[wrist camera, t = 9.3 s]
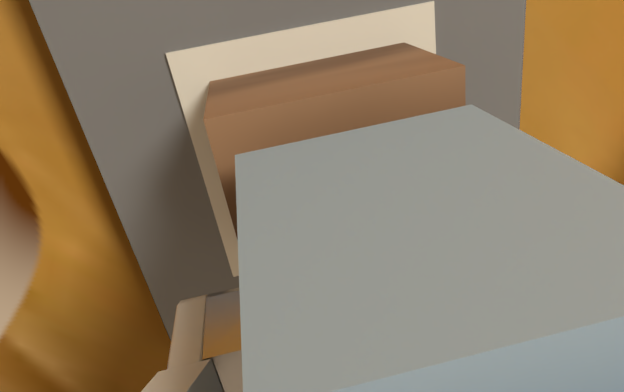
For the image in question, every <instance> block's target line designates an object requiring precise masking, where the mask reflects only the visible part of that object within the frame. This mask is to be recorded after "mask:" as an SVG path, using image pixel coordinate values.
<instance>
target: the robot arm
mask: <svg viewBox="0 0 624 392" xmlns="http://www.w3.org/2000/svg"><path fill="white" fill-rule="evenodd" d="M141 392H243V378H242V350H241V321H240V292H239V288H234V289H230V290H225V291H220V292H216V293H211V294H208V295H202V296H198V297H194V298H189V299H185V300H181V301H180V302H179V304H178V305H177V308H176V314H175V321H174V327H173V333H172V340H171V346H170V352H169V359H168V365H167V370H163V371H159V372H157V374H156V375H155V376H154V377H153V378H152V379H151V380H150V382H149V383H148V384H147V385H146V386H145V387H144V389H143V390H142V391H141Z"/></svg>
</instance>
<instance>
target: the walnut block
mask: <svg viewBox="0 0 624 392" xmlns="http://www.w3.org/2000/svg"><path fill="white" fill-rule="evenodd" d="M461 106H466V96H465V65H463V64H460V63H458V62H455V61H452V60H450V59H447V58H444V57H442V56H439V55H436V54H434V53H431V52H428V51H426V50H423V49H421V48H418V47H415V46H413V45H410V44H407V43H405V42H404V43H399V44H394V45H389V46H384V47H379V48H374V49H369V50H364V51H359V52H354V53H349V54H344V55H339V56H334V57H329V58H324V59H319V60H314V61H309V62H304V63H299V64H294V65H289V66H284V67H279V68H274V69H269V70H264V71H259V72H254V73H249V74H244V75H239V76H234V77H229V78H224V79H219V80H214V81H210V83H209V89H208V95H207V100H206V106H205V112H204V118H203V121H204V124H205V128H206V132H207V135H208V139H209V142H210V146H211V149H212V153H213V156H214V160H215V163H216V167H217V170H218V174H219V177H220V181H221V184H222V188H223V191H224V195H225V198H226V202H227V205H228V209H229V212H230V216H231V219H232V223H233V226H234V230H235V233H236V237H237V240H238V235H237V206H236V177H235V155H237V154H241V153H246V152H251V151H255V150H260V149H265V148H269V147H274V146H279V145H284V144H288V143H293V142H298V141H302V140H307V139H312V138H316V137H321V136H326V135H330V134H335V133H340V132H344V131H349V130H354V129H358V128H363V127H368V126H372V125H377V124H382V123H387V122H391V121H396V120H401V119H405V118H410V117H415V116H419V115H424V114H429V113H433V112H438V111H443V110H447V109H452V108H457V107H461Z"/></svg>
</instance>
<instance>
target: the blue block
mask: <svg viewBox="0 0 624 392" xmlns="http://www.w3.org/2000/svg"><path fill="white" fill-rule="evenodd" d="M235 177H236V206H237V235H238V263H239V292H240V321H241V350H242V378H243V392H624V185H622V184H620V183H618V182H616V181H615V180H613V179H611V178H609V177H607V176H605V175H603V174H601V173H600V172H598V171H596V170H594V169H592V168H590V167H588V166H586V165H585V164H583V163H581V162H579V161H577V160H575V159H573V158H571V157H570V156H568V155H566V154H564V153H562V152H560V151H558V150H556V149H555V148H553V147H551V146H549V145H547V144H545V143H543V142H541V141H540V140H538V139H536V138H534V137H532V136H530V135H528V134H526V133H525V132H523V131H521V130H519V129H517V128H515V127H513V126H511V125H510V124H508V123H506V122H504V121H502V120H500V119H498V118H496V117H495V116H493V115H491V114H489V113H487V112H485V111H483V110H481V109H480V108H478V107H476V106H474V105H472V104H471V105H466V106H461V107H457V108H452V109H447V110H443V111H438V112H433V113H429V114H424V115H419V116H415V117H410V118H405V119H401V120H396V121H391V122H387V123H382V124H377V125H372V126H368V127H363V128H358V129H354V130H349V131H344V132H340V133H335V134H330V135H326V136H321V137H316V138H312V139H307V140H302V141H298V142H293V143H288V144H284V145H279V146H274V147H269V148H265V149H260V150H255V151H251V152H246V153H241V154H237V155H235Z"/></svg>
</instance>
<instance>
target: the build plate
mask: <svg viewBox="0 0 624 392" xmlns="http://www.w3.org/2000/svg"><path fill="white" fill-rule="evenodd" d="M29 2H30V4H31V7H32V9H33V12H34V14H35V16H36V19H37V21H38V24H39V26H40V28H41V31H42V33H43V36H44V38H45V40H46V43H47V45H48V48H49V50H50V52H51V55H52V57H53V60H54V62H55V64H56V67H57V69H58V72H59V74H60V76H61V79H62V81H63V84H64V86H65V88H66V91H67V93H68V95H69V98H70V100H71V103H72V105H73V107H74V110H75V112H76V115H77V117H78V119H79V122H80V124H81V127H82V129H83V131H84V134H85V136H86V139H87V141H88V143H89V146H90V148H91V151H92V153H93V155H94V158H95V160H96V163H97V165H98V167H99V170H100V172H101V175H102V177H103V179H104V182H105V184H106V187H107V189H108V191H109V194H110V196H111V199H112V201H113V203H114V206H115V208H116V211H117V213H118V215H119V218H120V220H121V222H122V225H123V227H124V230H125V232H126V234H127V237H128V239H129V242H130V244H131V246H132V249H133V251H134V254H135V256H136V258H137V261H138V263H139V266H140V268H141V270H142V273H143V275H144V278H145V280H146V282H147V285H148V287H149V290H150V292H151V294H152V297H153V299H154V302H155V304H156V306H157V309H158V311H159V314H160V316H161V318H162V321H163V323H164V326H165V328H166V330H167V333H168V335H169V337H170V340H172V333H173V327H174V321H175V314H176V308H177V305H178V304H179V302H180V301H181V300H185V299H189V298H194V297H198V296H202V295H208V294H211V293H216V292H220V291H225V290H230V289H234V288H239V263H238V240H237V237H236V233H235V230H234V226H233V223H232V219H231V216H230V212H229V209H228V205H227V202H226V198H225V195H224V191H223V188H222V184H221V181H220V177H219V174H218V170H217V167H216V163H215V160H214V156H213V153H212V149H211V146H210V142H209V139H208V135H207V132H206V128H205V124H204V121H203V118H204V112H205V106H206V100H207V95H208V89H209V83H210V81H214V80H219V79H224V78H229V77H234V76H239V75H244V74H249V73H254V72H259V71H264V70H269V69H274V68H279V67H284V66H289V65H294V64H299V63H304V62H309V61H314V60H319V59H324V58H329V57H334V56H339V55H344V54H349V53H354V52H359V51H364V50H369V49H374V48H379V47H384V46H389V45H394V44H399V43H404V42H405V43H407V44H410V45H413V46H415V47H418V48H421V49H423V50H426V51H428V52H431V53H434V54H436V55H439V56H442V57H444V58H447V59H450V60H452V61H455V62H458V63H460V64H463V65H465V96H466V105H471V104H472V105H474V106H476V107H478V108H480V109H481V110H483V111H485V112H487V113H489V114H491V115H493V116H495V117H496V118H498V119H500V120H502V121H504V122H506V123H508V124H510V125H511V126H513V127H515V128H517V129H519V125H520V106H521V87H522V68H523V49H524V30H525V11H526V0H29Z"/></svg>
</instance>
